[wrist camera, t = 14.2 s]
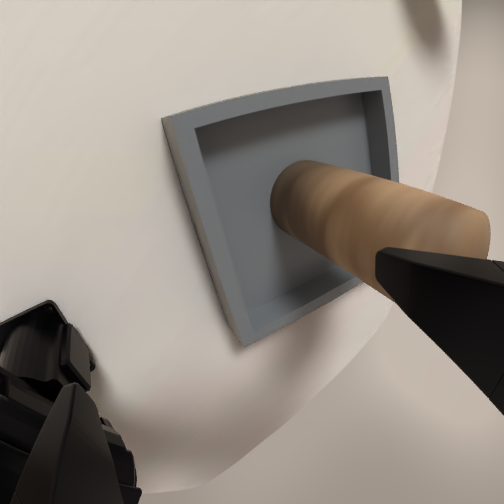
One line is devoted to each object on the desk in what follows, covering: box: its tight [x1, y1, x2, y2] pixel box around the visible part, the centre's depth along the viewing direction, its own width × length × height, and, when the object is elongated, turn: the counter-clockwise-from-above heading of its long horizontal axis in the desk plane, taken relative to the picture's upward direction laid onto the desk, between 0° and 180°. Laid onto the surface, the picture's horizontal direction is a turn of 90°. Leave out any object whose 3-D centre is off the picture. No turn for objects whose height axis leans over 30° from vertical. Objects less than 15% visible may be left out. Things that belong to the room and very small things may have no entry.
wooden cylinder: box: [270, 160, 490, 303], centre depth 17 cm, size 6×6×13 cm
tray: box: [161, 76, 399, 347], centre depth 22 cm, size 16×16×3 cm
